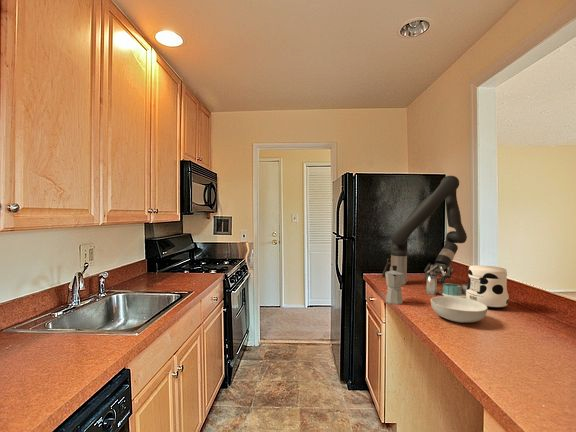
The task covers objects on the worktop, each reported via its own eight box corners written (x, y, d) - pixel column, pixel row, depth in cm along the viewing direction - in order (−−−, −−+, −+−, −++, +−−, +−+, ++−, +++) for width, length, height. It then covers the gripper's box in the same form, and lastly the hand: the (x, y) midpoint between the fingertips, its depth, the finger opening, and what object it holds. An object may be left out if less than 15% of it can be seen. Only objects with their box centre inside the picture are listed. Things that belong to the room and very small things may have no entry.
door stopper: (395, 276, 218) (396, 258, 218) (396, 277, 212) (396, 260, 212) (382, 275, 221) (382, 257, 221) (382, 276, 215) (382, 259, 215)
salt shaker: (428, 294, 170) (428, 276, 170) (424, 292, 175) (425, 274, 175) (438, 295, 170) (438, 276, 170) (434, 292, 175) (434, 274, 175)
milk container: (508, 304, 154) (508, 267, 154) (509, 313, 140) (510, 273, 139) (467, 298, 164) (467, 263, 163) (464, 306, 149) (465, 268, 149)
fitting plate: (448, 298, 163) (448, 287, 163) (438, 292, 174) (439, 282, 174) (482, 299, 163) (482, 288, 163) (470, 293, 174) (470, 283, 174)
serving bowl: (456, 330, 120) (457, 312, 120) (419, 313, 140) (420, 297, 140) (500, 325, 125) (500, 308, 125) (458, 309, 145) (458, 294, 145)
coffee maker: (403, 306, 148) (404, 268, 148) (384, 304, 151) (384, 267, 151) (403, 298, 163) (403, 263, 162) (385, 296, 165) (385, 262, 165)
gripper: (430, 252, 183) (418, 274, 177) (455, 255, 172) (442, 279, 165) (435, 261, 186) (423, 283, 180) (460, 264, 175) (448, 288, 168)
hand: (433, 281), depth 173 cm, fingers open, 8 cm apart
